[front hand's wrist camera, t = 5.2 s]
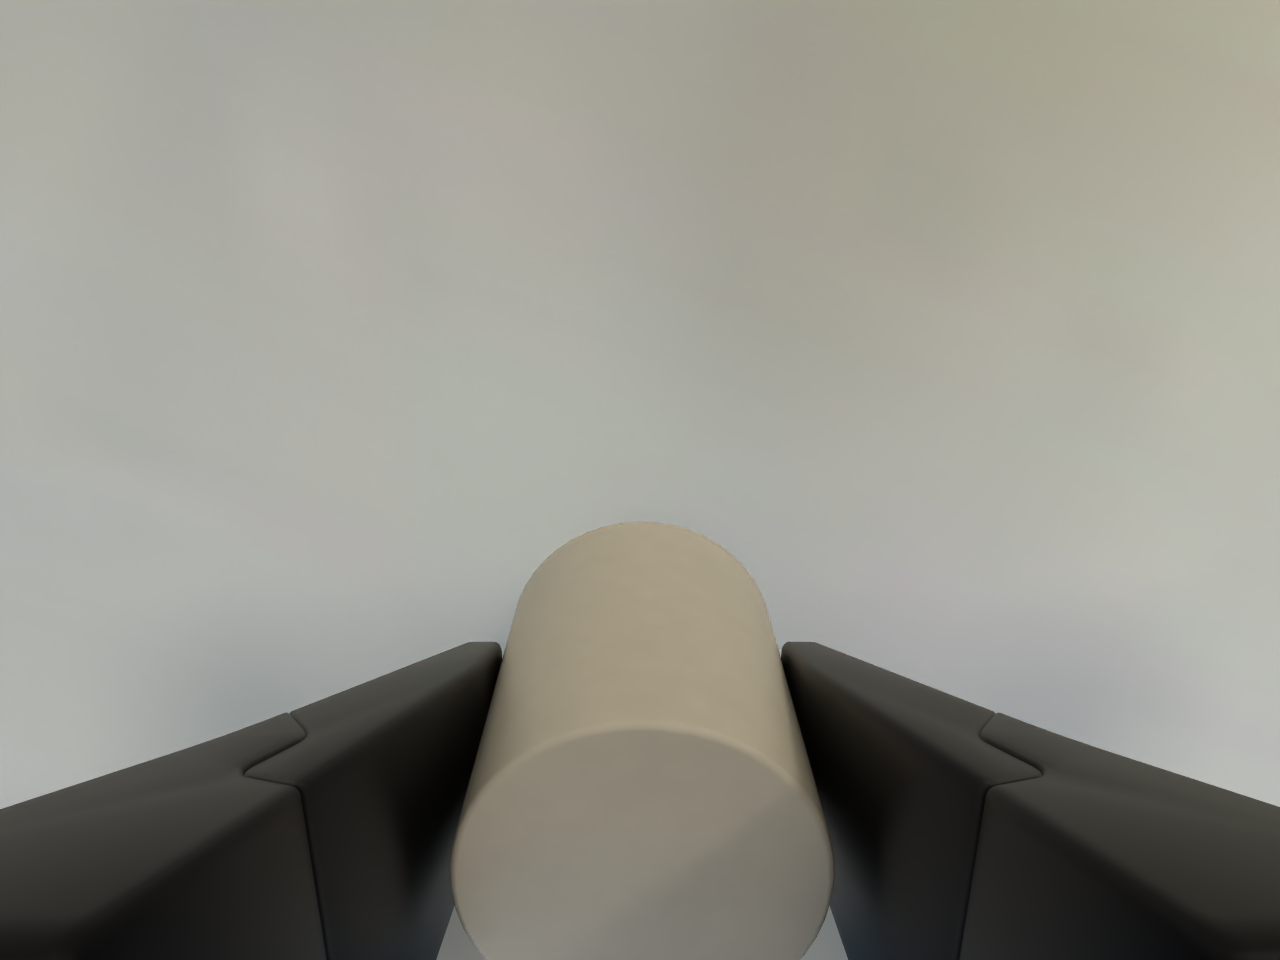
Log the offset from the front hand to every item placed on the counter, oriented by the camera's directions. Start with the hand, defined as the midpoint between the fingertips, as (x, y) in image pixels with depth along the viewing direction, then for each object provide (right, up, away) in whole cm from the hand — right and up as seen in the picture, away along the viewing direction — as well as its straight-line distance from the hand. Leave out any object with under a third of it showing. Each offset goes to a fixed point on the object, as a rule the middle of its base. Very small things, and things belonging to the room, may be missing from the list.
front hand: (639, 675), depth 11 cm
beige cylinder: (0, 0, +1) cm, 1 cm away
